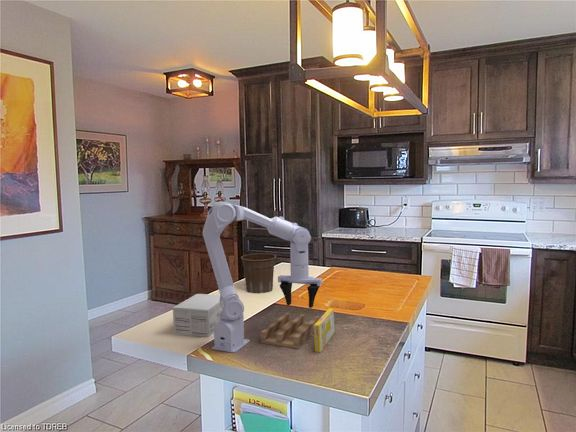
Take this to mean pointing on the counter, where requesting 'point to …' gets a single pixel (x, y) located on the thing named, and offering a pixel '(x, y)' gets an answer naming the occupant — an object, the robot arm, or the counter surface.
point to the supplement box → (197, 315)
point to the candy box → (324, 330)
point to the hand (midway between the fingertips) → (299, 305)
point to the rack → (288, 331)
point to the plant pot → (258, 272)
